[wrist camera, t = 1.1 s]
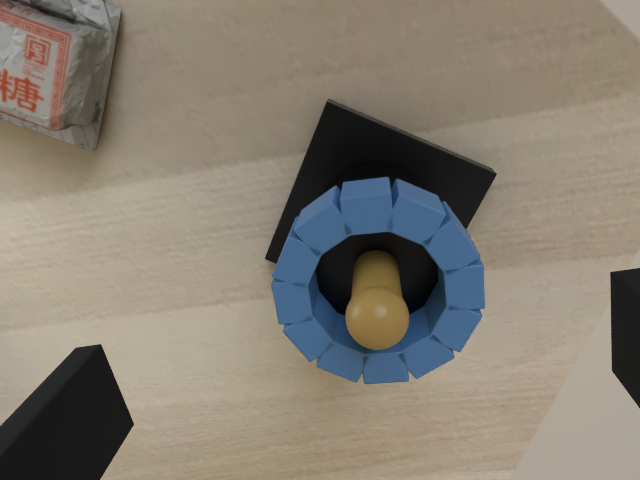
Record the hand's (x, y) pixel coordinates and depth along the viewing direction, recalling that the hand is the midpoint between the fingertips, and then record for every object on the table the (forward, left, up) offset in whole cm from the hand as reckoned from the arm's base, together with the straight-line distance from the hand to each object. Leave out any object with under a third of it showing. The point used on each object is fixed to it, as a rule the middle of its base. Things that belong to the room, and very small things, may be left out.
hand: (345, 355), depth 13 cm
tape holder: (+3, +2, -24) cm, 24 cm away
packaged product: (+2, -27, -24) cm, 36 cm away
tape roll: (+3, +2, -14) cm, 14 cm away
